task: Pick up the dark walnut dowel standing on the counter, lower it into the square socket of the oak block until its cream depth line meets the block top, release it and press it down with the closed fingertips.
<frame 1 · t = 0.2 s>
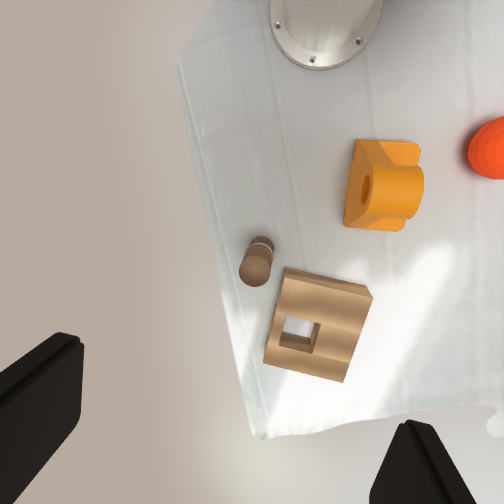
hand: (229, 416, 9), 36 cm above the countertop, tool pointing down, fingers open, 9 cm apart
bracket: (375, 185, 41), on the countertop
clementine: (489, 150, 38), on the countertop
board: (298, 321, 47), on the countertop
peg: (261, 248, 45), on the countertop
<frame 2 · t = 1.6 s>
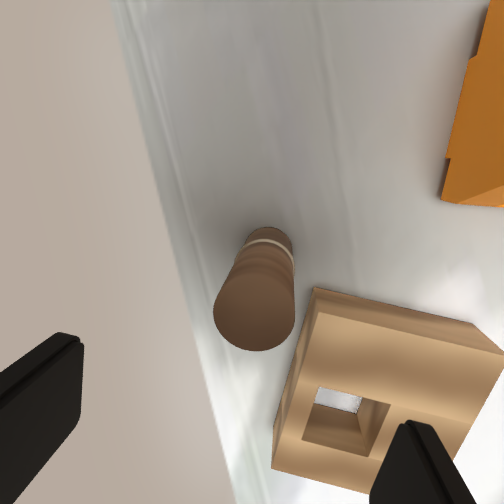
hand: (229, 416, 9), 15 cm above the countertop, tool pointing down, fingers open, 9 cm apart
board: (336, 383, 26), on the countertop
peg: (268, 250, 23), on the countertop
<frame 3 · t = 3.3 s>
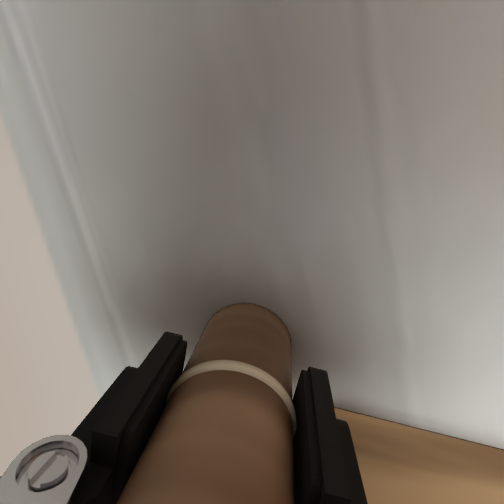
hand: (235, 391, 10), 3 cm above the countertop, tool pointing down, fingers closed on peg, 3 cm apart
peg: (246, 343, 13), on the countertop, touching gripper
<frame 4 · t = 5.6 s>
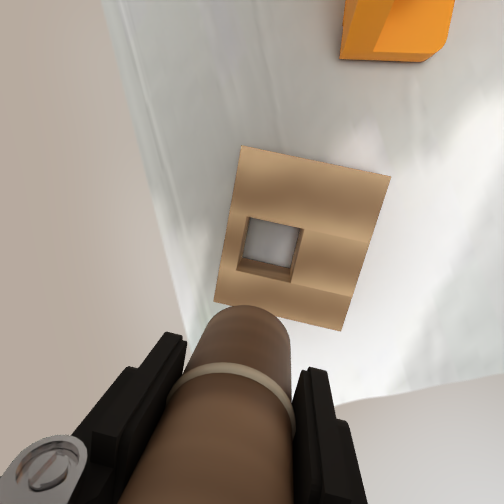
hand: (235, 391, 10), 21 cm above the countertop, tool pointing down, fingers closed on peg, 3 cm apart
board: (271, 239, 30), on the countertop
peg: (246, 345, 13), point 19 cm above the countertop, touching gripper
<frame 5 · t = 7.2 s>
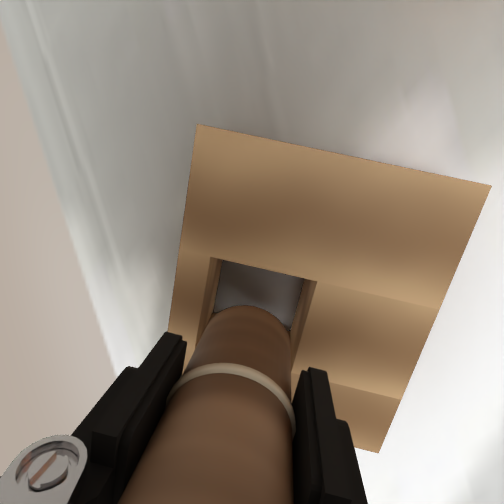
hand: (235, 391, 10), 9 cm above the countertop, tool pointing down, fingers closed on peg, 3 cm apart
board: (259, 285, 18), on the countertop
peg: (246, 345, 13), point 6 cm above the countertop, touching gripper
when the fingers open (5 cm above the countertop, at t = 8.3 s): peg drops 2 cm, resting in board.
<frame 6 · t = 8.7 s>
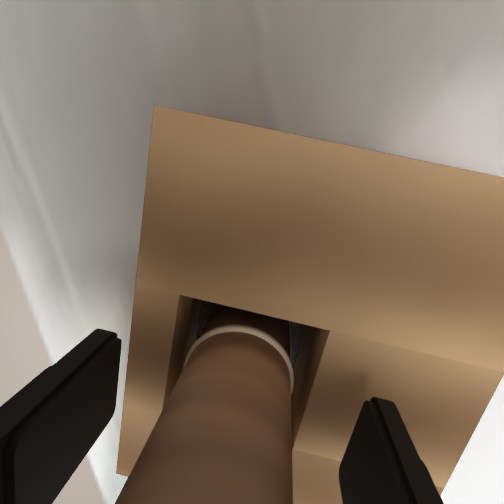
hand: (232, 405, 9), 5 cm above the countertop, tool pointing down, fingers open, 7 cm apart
board: (251, 320, 14), on the countertop
peg: (250, 320, 14), resting in board
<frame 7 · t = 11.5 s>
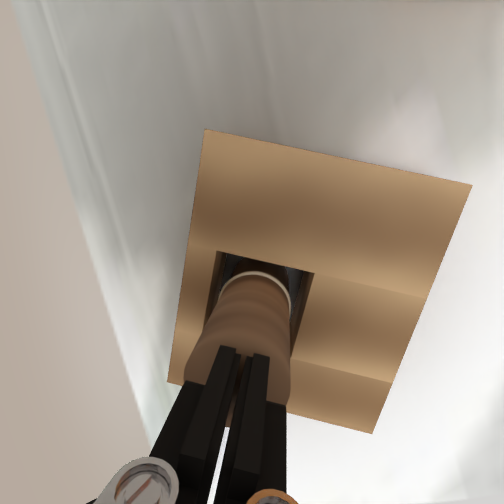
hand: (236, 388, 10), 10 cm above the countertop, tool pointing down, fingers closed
board: (261, 279, 20), on the countertop
peg: (260, 279, 20), resting in board
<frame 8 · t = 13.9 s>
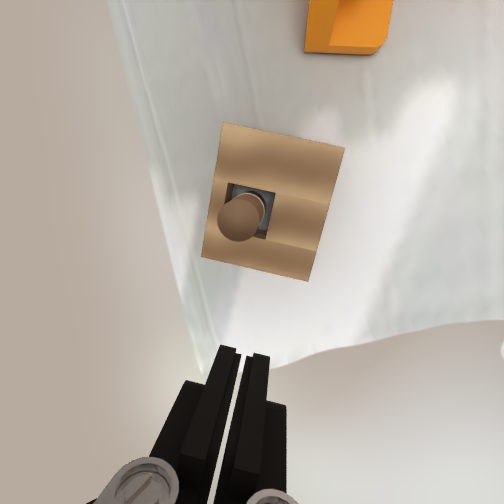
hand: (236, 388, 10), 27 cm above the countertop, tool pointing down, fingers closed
board: (251, 206, 36), on the countertop
peg: (250, 206, 36), resting in board
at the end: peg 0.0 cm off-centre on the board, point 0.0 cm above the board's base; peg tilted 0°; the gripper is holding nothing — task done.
